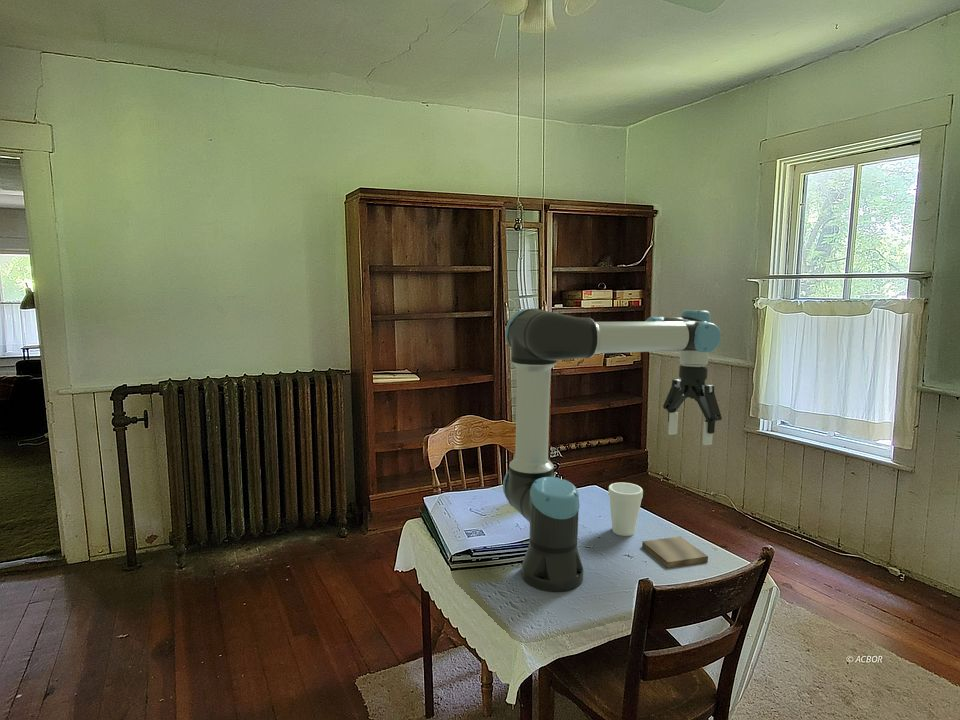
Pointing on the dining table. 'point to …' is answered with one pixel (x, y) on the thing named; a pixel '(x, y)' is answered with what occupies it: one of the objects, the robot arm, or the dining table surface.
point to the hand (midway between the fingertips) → (689, 439)
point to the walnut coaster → (674, 551)
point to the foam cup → (624, 507)
